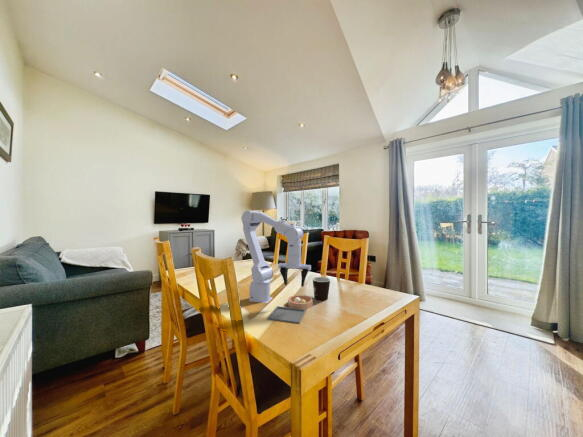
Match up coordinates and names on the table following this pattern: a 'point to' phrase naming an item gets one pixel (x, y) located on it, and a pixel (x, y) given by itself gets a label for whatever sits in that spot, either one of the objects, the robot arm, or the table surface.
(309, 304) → the bowl
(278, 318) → the parts tray
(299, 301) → the white ball
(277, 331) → the table surface
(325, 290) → the coffee mug
